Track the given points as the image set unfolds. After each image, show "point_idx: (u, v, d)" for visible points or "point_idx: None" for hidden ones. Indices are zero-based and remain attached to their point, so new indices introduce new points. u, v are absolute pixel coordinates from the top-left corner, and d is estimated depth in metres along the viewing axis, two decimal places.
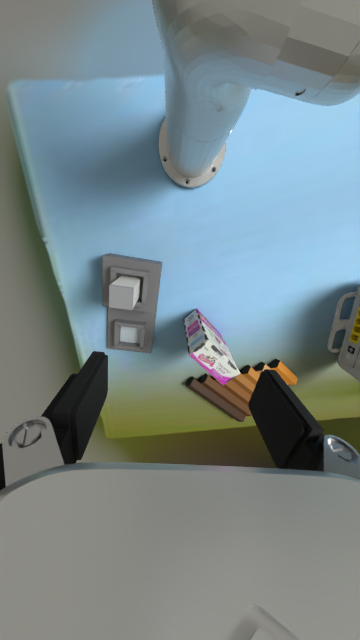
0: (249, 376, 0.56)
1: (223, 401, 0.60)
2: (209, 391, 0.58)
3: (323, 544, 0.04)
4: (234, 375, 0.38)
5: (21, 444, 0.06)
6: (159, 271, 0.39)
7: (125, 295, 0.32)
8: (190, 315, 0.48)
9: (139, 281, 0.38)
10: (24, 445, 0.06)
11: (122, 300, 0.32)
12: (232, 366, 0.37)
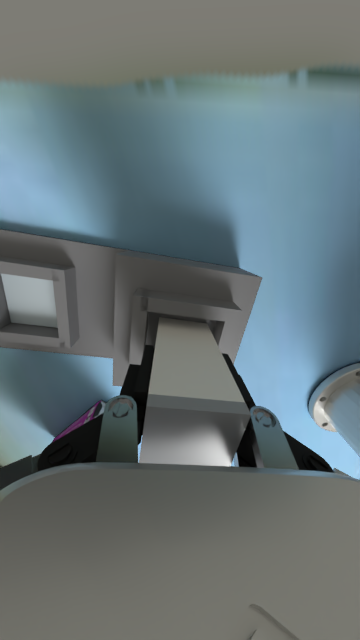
0: None
1: None
2: None
3: (323, 544, 0.04)
4: None
5: (114, 414, 0.07)
6: None
7: (200, 459, 0.08)
8: None
9: None
10: (116, 415, 0.07)
11: (179, 450, 0.08)
12: None
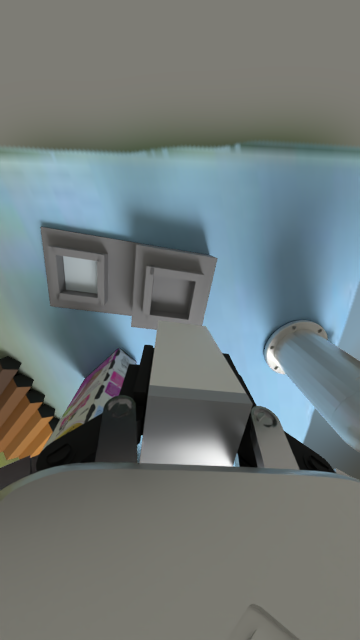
0: (47, 432, 0.41)
1: None
2: None
3: (323, 544, 0.04)
4: None
5: (113, 414, 0.07)
6: None
7: (203, 455, 0.08)
8: (127, 359, 0.35)
9: None
10: (115, 416, 0.07)
11: (181, 445, 0.07)
12: None
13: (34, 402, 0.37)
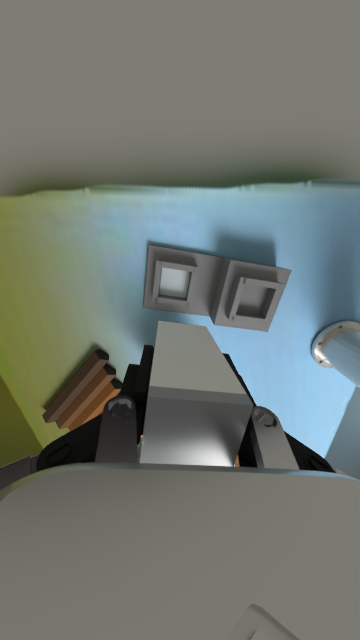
0: None
1: (75, 396, 0.45)
2: (90, 379, 0.43)
3: (323, 544, 0.04)
4: None
5: (113, 414, 0.07)
6: (261, 329, 0.36)
7: (203, 456, 0.08)
8: None
9: None
10: (115, 416, 0.07)
11: (182, 446, 0.07)
12: None
13: (117, 388, 0.44)
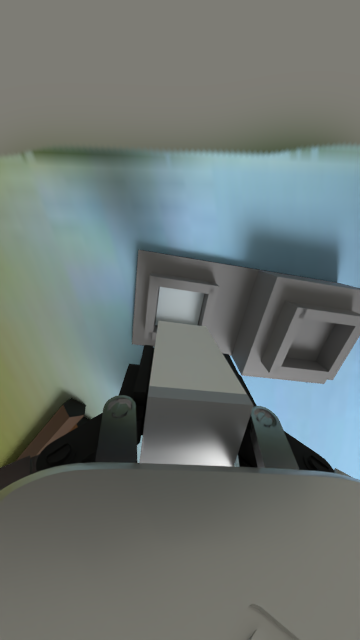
0: None
1: None
2: None
3: (323, 544, 0.04)
4: None
5: (113, 414, 0.07)
6: (314, 381, 0.23)
7: (203, 456, 0.08)
8: None
9: None
10: (115, 415, 0.07)
11: (182, 446, 0.07)
12: None
13: None
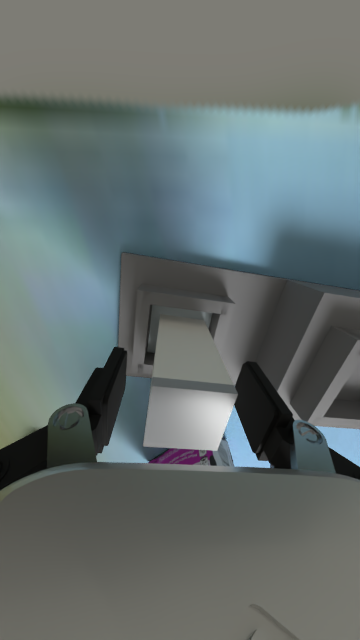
0: None
1: None
2: None
3: (323, 544, 0.04)
4: None
5: (62, 426, 0.06)
6: None
7: (196, 432, 0.09)
8: (221, 444, 0.23)
9: None
10: (64, 428, 0.06)
11: (178, 425, 0.09)
12: None
13: None
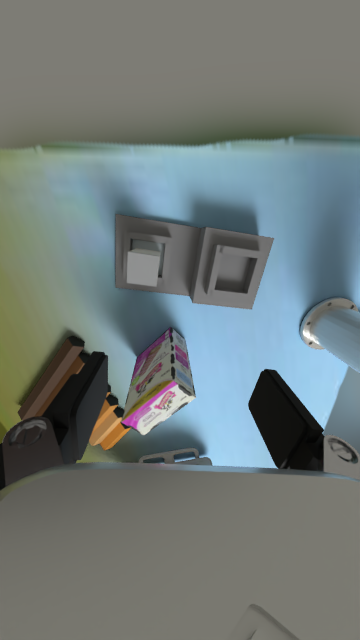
0: (105, 408, 0.44)
1: (51, 389, 0.41)
2: (65, 369, 0.40)
3: (323, 544, 0.04)
4: (140, 430, 0.28)
5: (21, 444, 0.06)
6: (244, 307, 0.34)
7: (146, 276, 0.25)
8: (179, 336, 0.39)
9: None
10: (24, 445, 0.06)
11: (139, 271, 0.25)
12: (155, 426, 0.28)
13: None
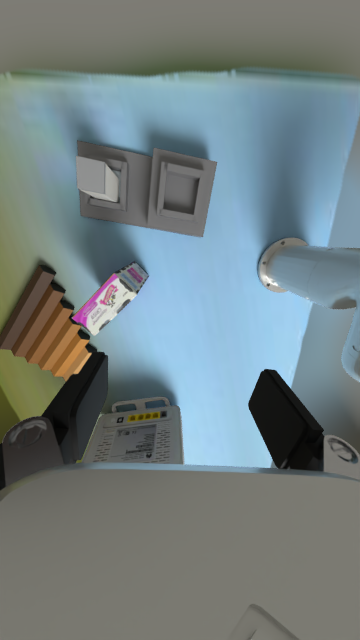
0: (76, 341, 0.48)
1: (26, 318, 0.45)
2: (38, 298, 0.43)
3: (323, 544, 0.04)
4: (90, 329, 0.31)
5: (21, 444, 0.06)
6: (195, 234, 0.37)
7: (94, 182, 0.28)
8: (141, 269, 0.42)
9: (114, 201, 0.35)
10: (24, 445, 0.06)
11: (87, 177, 0.28)
12: (103, 325, 0.31)
13: (67, 308, 0.44)
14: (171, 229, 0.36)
